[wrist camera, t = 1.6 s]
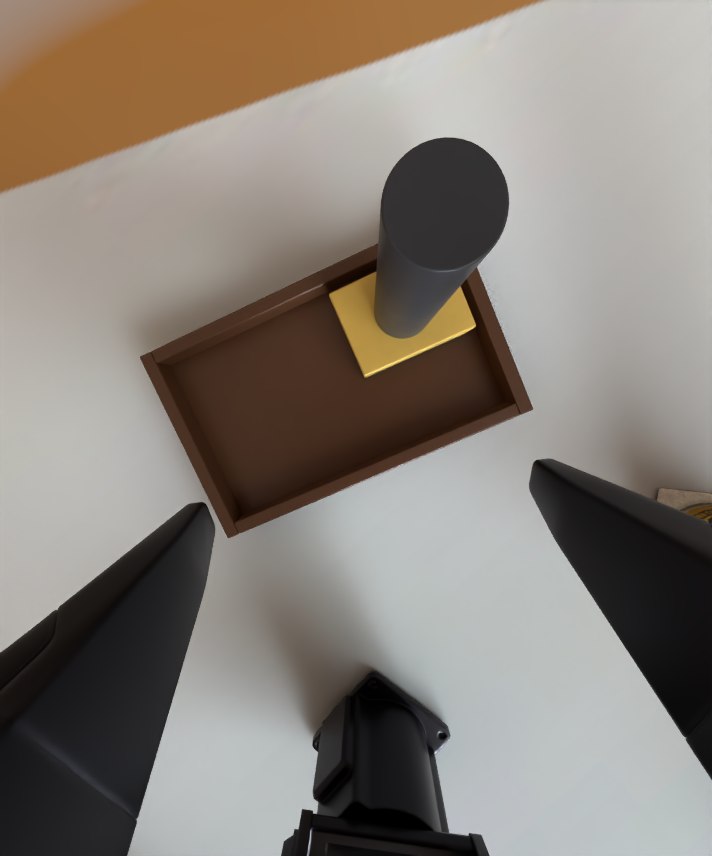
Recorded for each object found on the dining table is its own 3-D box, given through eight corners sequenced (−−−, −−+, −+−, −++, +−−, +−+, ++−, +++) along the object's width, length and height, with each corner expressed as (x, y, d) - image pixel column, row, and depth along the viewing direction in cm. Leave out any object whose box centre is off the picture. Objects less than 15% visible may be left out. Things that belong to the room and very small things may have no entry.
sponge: (432, 259, 19) (539, 38, 7) (463, 334, 19) (613, 240, 7) (333, 306, 19) (279, 170, 7) (364, 378, 19) (359, 355, 8)
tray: (443, 227, 19) (453, 206, 17) (516, 407, 20) (533, 409, 18) (162, 360, 20) (138, 356, 18) (241, 524, 21) (227, 538, 19)
